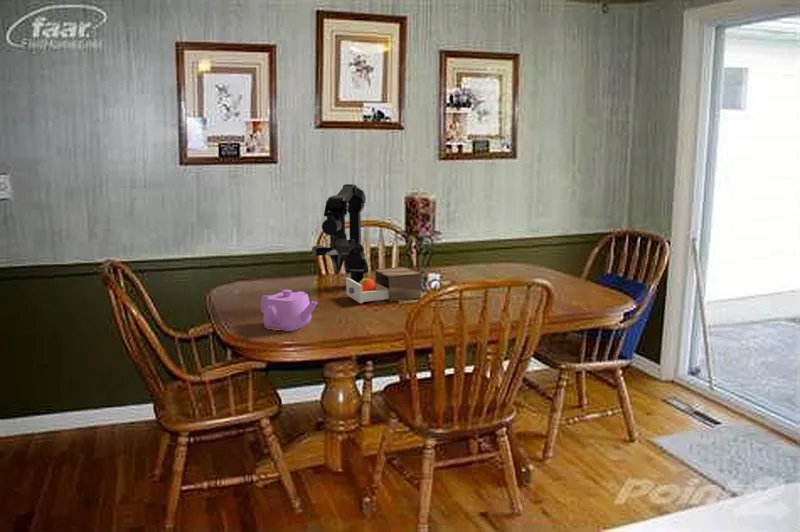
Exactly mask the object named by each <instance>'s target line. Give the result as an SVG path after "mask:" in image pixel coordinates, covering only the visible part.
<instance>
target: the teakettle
mask: <svg viewBox="0 0 800 532" xmlns="http://www.w3.org/2000/svg"><path fill="white" fill-rule="evenodd" d="M260 298H261V300H260V301H261V302H260V312H261V313H262V314H263V320H262V321H263V326H264V329H265V328H273V329H280V330H288V331H293V330H297V329H299V328H301V327H303V326H305V325H307V324H308V323H309V324H311V320H312V313H313V312H314V310H315V308H316V306H317V305H318V301H315V300H312V301H310V298H309V295H308V293H306V292H305V291H295V292H294V291H293V290H291V289H283V290H281V291H280V292H277V293H275V294H273V295H271V294H270V295H269V294H264V295H262V296H261V297H260ZM309 324H308V325H309ZM308 325H307V326H308ZM305 327H306V326H305ZM303 328H304V327H303ZM301 329H302V328H301ZM299 330H300V329H299ZM297 331H298V330H297Z"/></svg>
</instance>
